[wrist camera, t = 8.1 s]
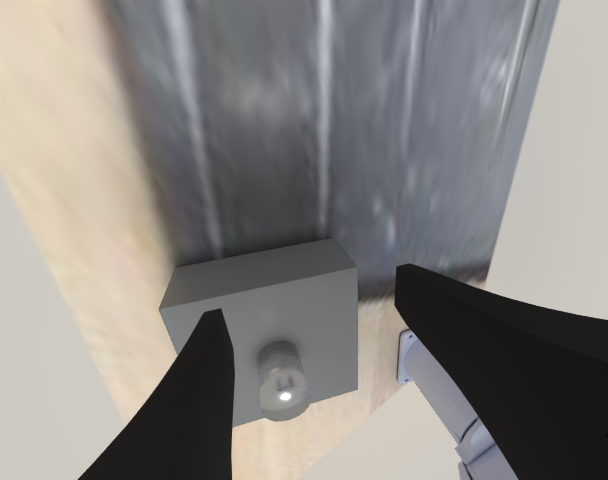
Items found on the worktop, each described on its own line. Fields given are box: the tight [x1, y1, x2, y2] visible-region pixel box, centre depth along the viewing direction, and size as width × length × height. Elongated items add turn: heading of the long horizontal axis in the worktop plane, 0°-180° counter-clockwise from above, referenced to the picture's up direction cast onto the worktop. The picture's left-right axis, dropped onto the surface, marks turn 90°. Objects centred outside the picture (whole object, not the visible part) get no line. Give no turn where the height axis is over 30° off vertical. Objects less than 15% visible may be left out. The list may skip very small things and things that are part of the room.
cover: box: [159, 238, 358, 427], centre depth 19 cm, size 12×12×8 cm
